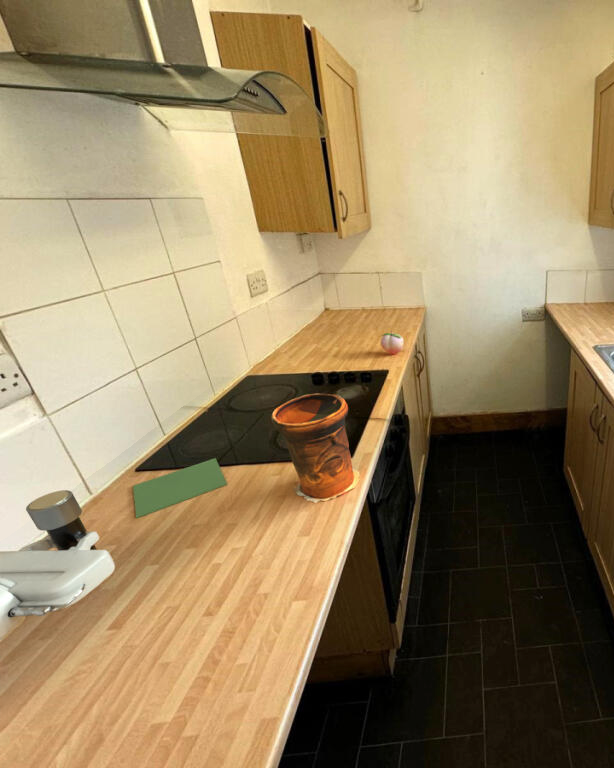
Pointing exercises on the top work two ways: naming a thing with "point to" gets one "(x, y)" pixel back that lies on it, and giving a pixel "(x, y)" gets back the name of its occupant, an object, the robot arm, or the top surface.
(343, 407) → the vessel
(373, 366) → the top surface
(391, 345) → the decorative fruit
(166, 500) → the cloth
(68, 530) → the torch
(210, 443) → the top surface
